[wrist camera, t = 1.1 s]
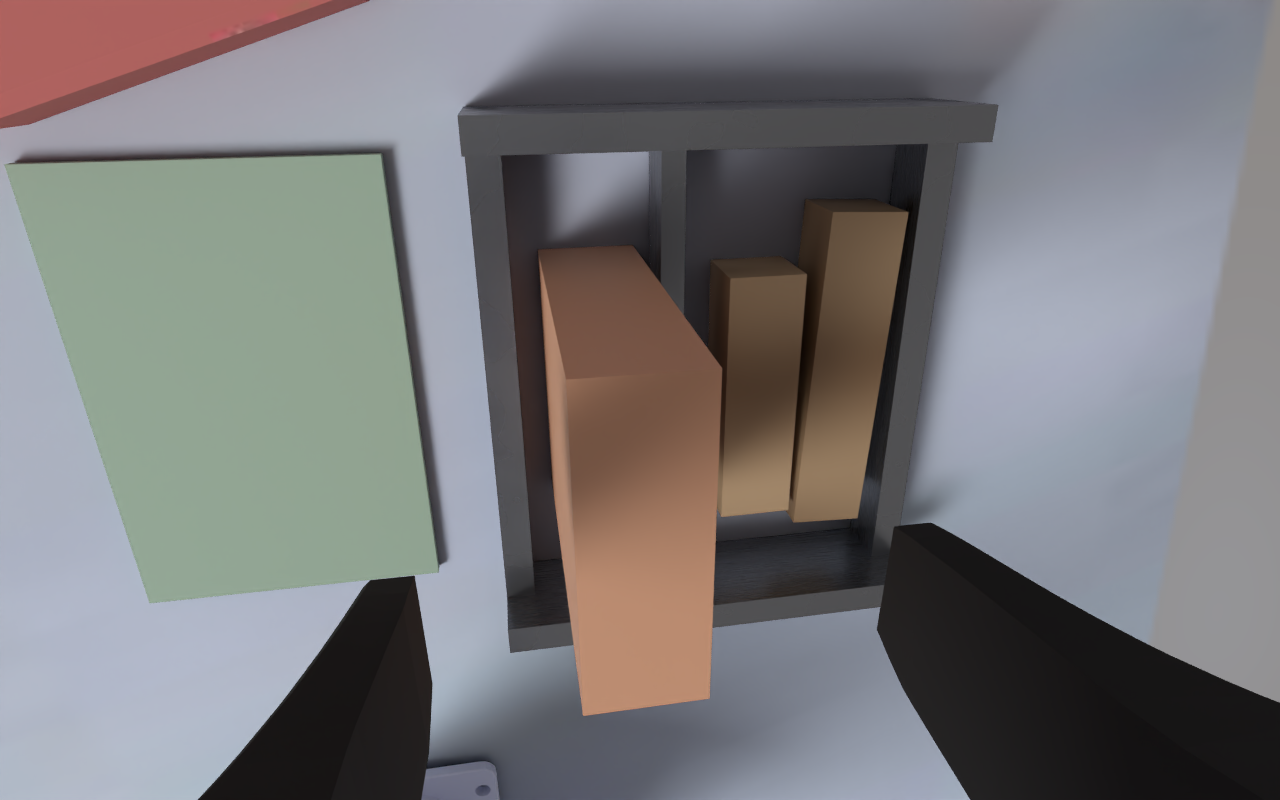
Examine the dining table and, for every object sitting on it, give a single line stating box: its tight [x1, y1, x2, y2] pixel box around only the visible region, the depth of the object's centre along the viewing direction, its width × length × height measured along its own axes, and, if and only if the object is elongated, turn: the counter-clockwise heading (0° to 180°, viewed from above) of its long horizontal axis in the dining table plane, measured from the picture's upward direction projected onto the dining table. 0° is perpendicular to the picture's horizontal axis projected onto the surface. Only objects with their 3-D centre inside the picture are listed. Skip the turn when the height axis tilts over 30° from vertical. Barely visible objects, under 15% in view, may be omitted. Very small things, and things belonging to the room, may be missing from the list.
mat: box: [5, 153, 439, 603], centre depth 20 cm, size 12×8×1 cm, turn 1°
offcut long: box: [786, 199, 908, 523], centre depth 22 cm, size 9×2×2 cm, turn 178°
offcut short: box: [708, 256, 807, 517], centre depth 22 cm, size 7×2×2 cm, turn 1°
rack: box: [458, 98, 998, 653], centre depth 21 cm, size 14×12×3 cm
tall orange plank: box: [538, 245, 722, 716], centre depth 18 cm, size 7×2×9 cm, turn 1°
